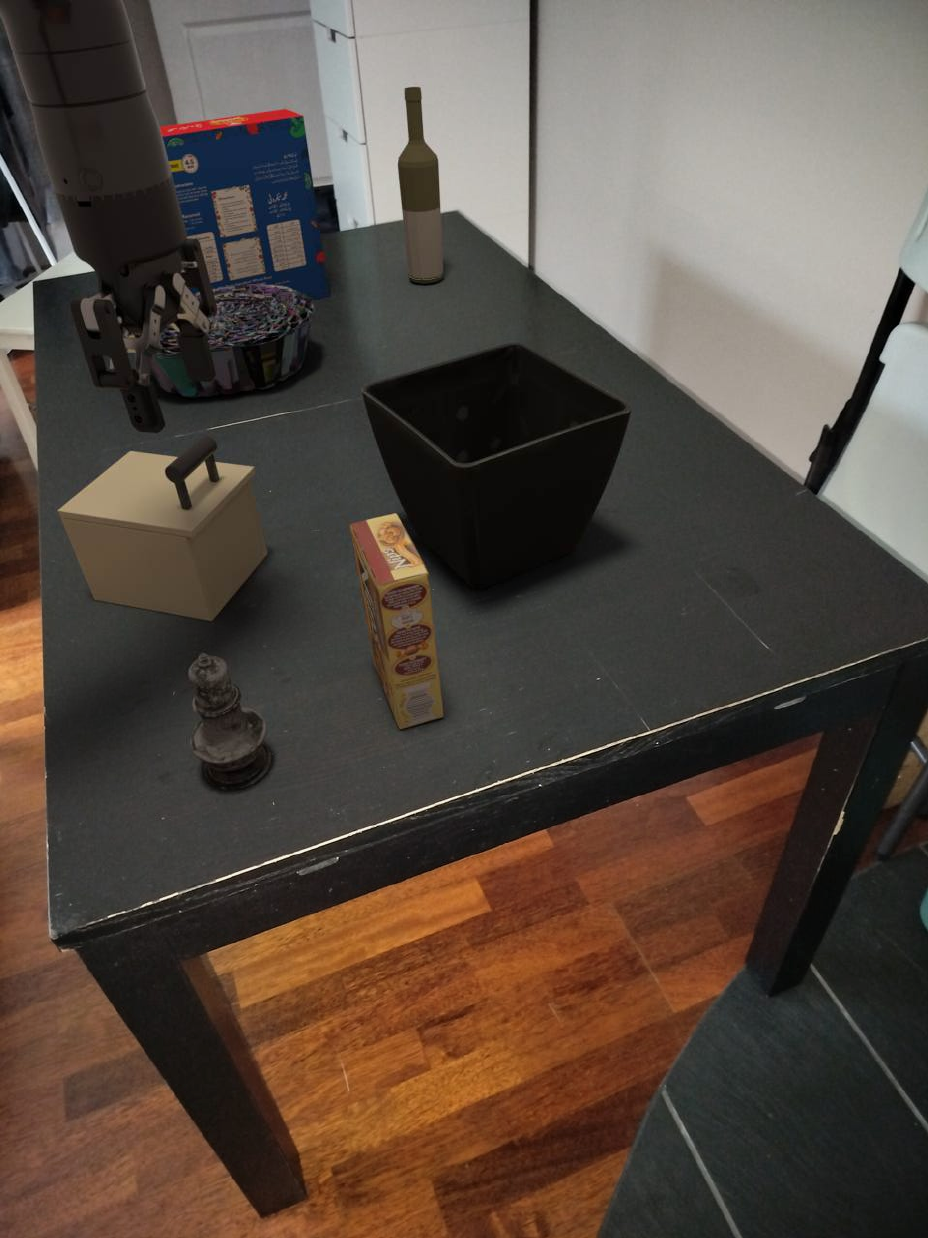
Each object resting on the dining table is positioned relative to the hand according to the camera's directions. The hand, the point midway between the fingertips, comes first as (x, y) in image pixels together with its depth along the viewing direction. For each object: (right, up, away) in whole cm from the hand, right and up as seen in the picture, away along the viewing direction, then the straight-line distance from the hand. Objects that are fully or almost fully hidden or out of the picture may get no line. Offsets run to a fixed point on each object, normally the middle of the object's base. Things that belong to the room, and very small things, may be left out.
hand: (178, 403), depth 67 cm
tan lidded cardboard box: (-7, -12, +22) cm, 26 cm away
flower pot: (+26, -9, +24) cm, 36 cm away
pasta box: (-16, +38, +83) cm, 93 cm away
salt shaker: (+4, -29, +2) cm, 29 cm away
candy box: (+17, -23, +8) cm, 30 cm away
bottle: (+15, +45, +89) cm, 101 cm away
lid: (-7, -5, +16) cm, 18 cm away
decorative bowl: (-12, +20, +62) cm, 67 cm away
